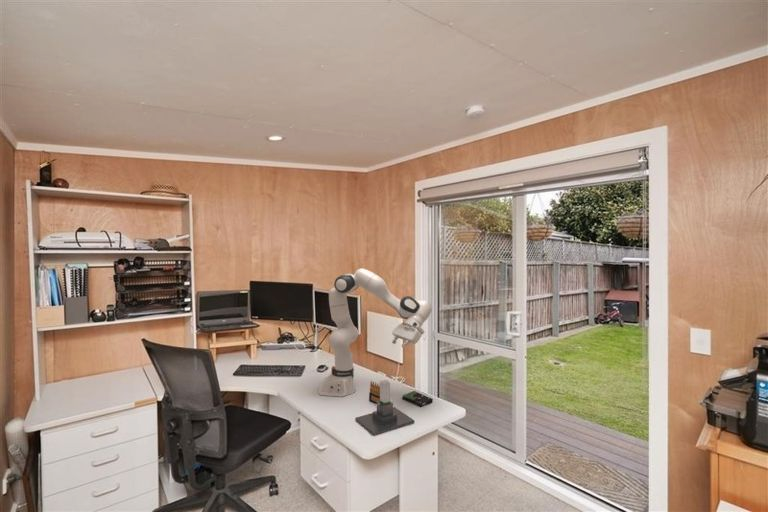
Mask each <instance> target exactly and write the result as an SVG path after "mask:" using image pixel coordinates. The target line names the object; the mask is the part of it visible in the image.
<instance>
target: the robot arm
mask: <svg viewBox="0 0 768 512" xmlns="http://www.w3.org/2000/svg"><path fill="white" fill-rule="evenodd" d="M333 286H334V287H332V288H331V289H330V290H329V291H328V304H329V311H330V316H331V317H330V318H331V320H332V322H334V323H335V325H336V327H337V329H335V330H334V331H332V332H331V334H330V335H329V336H328V343H329V345H330V347H331V348H332V350H333V354H334V366H332V367H331V374H329V375H328V376H326V377H325V378H324V380H323V381H322V385H321V386H320V387H319V388H318V391H317V393H318V395H319V396H325V397H326V396H327V397H339V398H340V397H343V398H344V397H346V396H348V395H352V394H355V392H357V391H356V386H355V381H354V380H355V379H354V376H355V370H354V368H355V367H354V354H353V353H352V352H351V349H350V346H351V345H350V344H352V343H354V342H355V341H356V340H357V338H358V337H359V330H358V327H356V326H355V325H354V322H353V320H352V318H351V314H350V309H349V304H348V303H349V302H348V297H347V296H348V294H350V293H352V292H353V291H356V290H357V289H358V288H359V287H360V288H361V289H364V290H365V291H367V292H368V293H370V294H371V295H374V296H375V297H377V298H378V299H380V300H381V301H382V302H384V303H386V304H387V305H388V306H389V307H391V308H393V309H394V310H395V311H396V312H397V314H398V315H399V316H400V317H401V319H404V320H405V322H401V323H399V324H397V326H396V327H395V328H394V329H393V330H392V332H391V334H392V336H393V338H392V339H393V340H392V341H391V343H392V344H393V345H396V344H397V340H398V339H401V340H403V341H404V343H402V344H401V348H403V349H406V347H407V346H409V345H411V344H414V345H415V344H417V343H418V342H419V340H420V339H421V337H422V335H424V334H425V330H424V328H423V324H424V323H425V322H426V321H427V320H428V318H429V317H430V315H431V313H432V311H433V307H432V305H431V303H429V302H428V301H427V300H425V299H417V298H415V297H413V296H409V295H406V296H403V297H402V298H401V299H399V298H398V297H397V296H395V295H394V294H393V293H392V292H390V291H389V288H388V286H387V284H386V282H385V280H384V279H383V278H382V277H380V276H379V275H378V274H376V273H374V272H372V271H370V270H369V269H366V268H361V267H360V268H358V269H357V270H356V271H355V273H344V274H342V275H339V276H338V277H337V278H336V279H335V280H334V284H333Z"/></svg>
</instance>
